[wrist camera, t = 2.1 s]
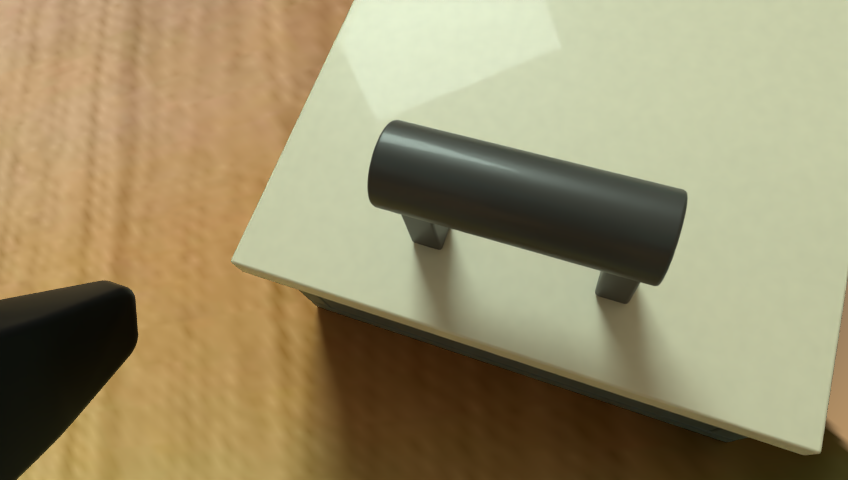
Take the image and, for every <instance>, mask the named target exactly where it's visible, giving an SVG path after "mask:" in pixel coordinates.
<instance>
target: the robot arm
mask: <svg viewBox="0 0 848 480" xmlns="http://www.w3.org/2000/svg"><path fill="white" fill-rule="evenodd" d="M137 339H138V328H137V314H136V300H135V295H134V294H133V292H132V290H130V289H129V288H128V287H125V286H122V285H119V284H116V283H114V282H111V281H97V282H92V283H86V284H81V285H76V286H71V287H65V288H60V289H55V290H49V291H44V292H39V293H34V294H28V295H23V296H18V297H13V298H7V299H2V300H0V480H17V479H18V478H19V477H20V476H21V475H22V474H23V473H24V472H25V471H26V470H27V469H28V468H29V467H30V466H31V465H32V464H33V463H34V462H35V461H36V460H37V459H38V458H39V457H40V456H41V455H42V454H43V453H44V452H45V451H46V450H47V449H48V448H49V447H50V446H51V445H52V444H53V443H54V442H55V441H56V440H57V439H58V438H59V437H60V436H61V435H62V434H63V433H64V431H65V430H66V429H67V428H68V427H69V426H70V425H71V424H72V423H73V421H74V420H75V419H76V418H77V417H78V416H79V414H80V413H81V412H82V411H83V410H84V409H85V407H86V406H87V405H88V404H89V403H90V401H91V400H92V399H93V398H94V397H95V396H96V394H97V393H98V392H99V391H100V390H101V389H102V387H103V386H104V385H105V384H106V383H107V382H108V380H109V379H110V378H111V377H112V376H113V375H114V373H115V372H116V371H117V370H118V369H119V368H120V366H121V365H122V364H123V363H124V362H125V360H126V359H127V358H128V357H129V356H130V355H131V353H132V352H133V350H134V348H135V346H136V343H137Z"/></svg>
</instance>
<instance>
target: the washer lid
mask: <svg viewBox="0 0 848 480" xmlns="http://www.w3.org/2000/svg"><path fill="white" fill-rule="evenodd" d="M231 262H232V263H233V264H234V265H235V266H236V267H238V268H239V269H240V270H242V271H243V272H246V273H249V274H252V275H255V276H258V277H261V278H264V279H267V280H270V281H273V282H276V283H279V284H282V285H286V286H289V287H292V288H295V289H298V290H301V291H304V292H307V293H310V294H313V295H316V296H319V297H322V298H325V299H328V300H331V301H334V302H337V303H340V304H344V305H347V306H350V307H353V308H356V309H359V310H362V311H365V312H368V313H371V314H374V315H377V316H380V317H383V318H386V319H389V320H392V321H395V322H398V323H402V324H405V325H408V326H411V327H414V328H417V329H420V330H423V331H426V332H429V333H432V334H435V335H438V336H441V337H444V338H447V339H450V340H453V341H456V342H460V343H463V344H466V345H469V346H472V347H475V348H478V349H481V350H484V351H487V352H490V353H493V354H496V355H499V356H502V357H505V358H508V359H511V360H514V361H518V362H521V363H524V364H527V365H530V366H533V367H536V368H539V369H542V370H545V371H548V372H551V373H554V374H557V375H560V376H563V377H566V378H569V379H572V380H575V381H579V382H582V383H585V384H588V385H591V386H594V387H597V388H600V389H603V390H606V391H609V392H612V393H615V394H618V395H621V396H624V397H627V398H630V399H633V400H637V401H640V402H643V403H646V404H649V405H652V406H655V407H658V408H661V409H664V410H667V411H670V412H673V413H676V414H679V415H682V416H685V417H688V418H691V419H695V420H698V421H701V422H704V423H707V424H710V425H713V426H716V427H719V428H722V429H725V430H728V431H731V432H734V433H737V434H740V435H743V436H746V437H749V438H753V439H756V440H759V441H762V442H765V443H768V444H771V445H774V446H777V447H780V448H783V449H786V450H789V451H792V452H795V453H798V454H801V455H812V454H820V452H821V449H822V443H823V436H824V430H825V423H826V417H827V410H828V404H829V397H830V391H831V383H832V377H833V371H834V364H835V358H836V351H837V345H838V338H839V331H840V325H841V319H842V312H843V305H844V299H845V292H846V286H847V279H848V0H354V2H353V4H352V6H351V8H350V10H349V12H348V14H347V16H346V19H345V21H344V23H343V25H342V27H341V29H340V31H339V33H338V35H337V38H336V40H335V42H334V44H333V46H332V48H331V50H330V52H329V54H328V57H327V59H326V61H325V63H324V65H323V67H322V69H321V71H320V74H319V76H318V78H317V80H316V82H315V84H314V86H313V88H312V90H311V93H310V95H309V97H308V99H307V101H306V103H305V105H304V107H303V109H302V112H301V114H300V116H299V118H298V120H297V122H296V124H295V126H294V129H293V131H292V133H291V135H290V137H289V139H288V141H287V143H286V145H285V148H284V150H283V152H282V154H281V156H280V158H279V160H278V162H277V164H276V167H275V169H274V171H273V173H272V175H271V177H270V179H269V181H268V184H267V186H266V188H265V190H264V192H263V194H262V196H261V198H260V200H259V203H258V205H257V207H256V209H255V211H254V213H253V215H252V217H251V219H250V222H249V224H248V226H247V228H246V230H245V232H244V234H243V236H242V238H241V241H240V243H239V245H238V247H237V249H236V251H235V253H234V255H233V258H232V260H231Z"/></svg>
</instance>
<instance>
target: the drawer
mask: <svg viewBox="0 0 848 480" xmlns="http://www.w3.org/2000/svg"><path fill="white" fill-rule="evenodd" d="M299 291H301V290H299ZM301 292H302V293H303V294H304V295H305V296H306V297H307V298H308V299H309V300H311V301H312V302H313V303H314V304H315V305H316V306H317V307H320V308H323V309H326V310H329V311H332V312H335V313H338V314H341V315H344V316H347V317H350V318H353V319H356V320H359V321H362V322H365V323H368V324H371V325H374V326H377V327H381V328H384V329H387V330H390V331H393V332H396V333H399V334H402V335H405V336H408V337H411V338H414V339H417V340H420V341H423V342H426V343H429V344H432V345H435V346H438V347H441V348H444V349H447V350H450V351H453V352H456V353H459V354H462V355H465V356H468V357H471V358H474V359H477V360H480V361H483V362H486V363H489V364H492V365H495V366H498V367H501V368H504V369H507V370H510V371H513V372H516V373H519V374H522V375H525V376H528V377H531V378H534V379H537V380H540V381H543V382H546V383H549V384H552V385H555V386H558V387H561V388H564V389H567V390H570V391H573V392H576V393H579V394H582V395H585V396H588V397H591V398H594V399H597V400H600V401H603V402H606V403H609V404H612V405H615V406H618V407H621V408H624V409H627V410H630V411H633V412H636V413H639V414H642V415H645V416H648V417H651V418H654V419H657V420H660V421H664V422H667V423H670V424H673V425H676V426H679V427H682V428H685V429H688V430H691V431H694V432H697V433H700V434H703V435H706V436H709V437H712V438H715V439H718V440H721V441H724V442H731V441H735V440H739V439H743V438H748V437H746V436H743V435H740V434H737V433H734V432H731V431H728V430H725V429H722V428H719V427H716V426H713V425H710V424H707V423H704V422H701V421H698V420H695V419H691V418H688V417H685V416H682V415H679V414H676V413H673V412H670V411H667V410H664V409H661V408H658V407H655V406H652V405H649V404H646V403H643V402H640V401H637V400H633V399H630V398H627V397H624V396H621V395H618V394H615V393H612V392H609V391H606V390H603V389H600V388H597V387H594V386H591V385H588V384H585V383H582V382H579V381H575V380H572V379H569V378H566V377H563V376H560V375H557V374H554V373H551V372H548V371H545V370H542V369H539V368H536V367H533V366H530V365H527V364H524V363H521V362H518V361H514V360H511V359H508V358H505V357H502V356H499V355H496V354H493V353H490V352H487V351H484V350H481V349H478V348H475V347H472V346H469V345H466V344H463V343H460V342H456V341H453V340H450V339H447V338H444V337H441V336H438V335H435V334H432V333H429V332H426V331H423V330H420V329H417V328H414V327H411V326H408V325H405V324H402V323H398V322H395V321H392V320H389V319H386V318H383V317H380V316H377V315H374V314H371V313H368V312H365V311H362V310H359V309H356V308H353V307H350V306H347V305H344V304H340V303H337V302H334V301H331V300H328V299H325V298H322V297H319V296H316V295H313V294H310V293H307V292H304V291H301Z"/></svg>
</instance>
